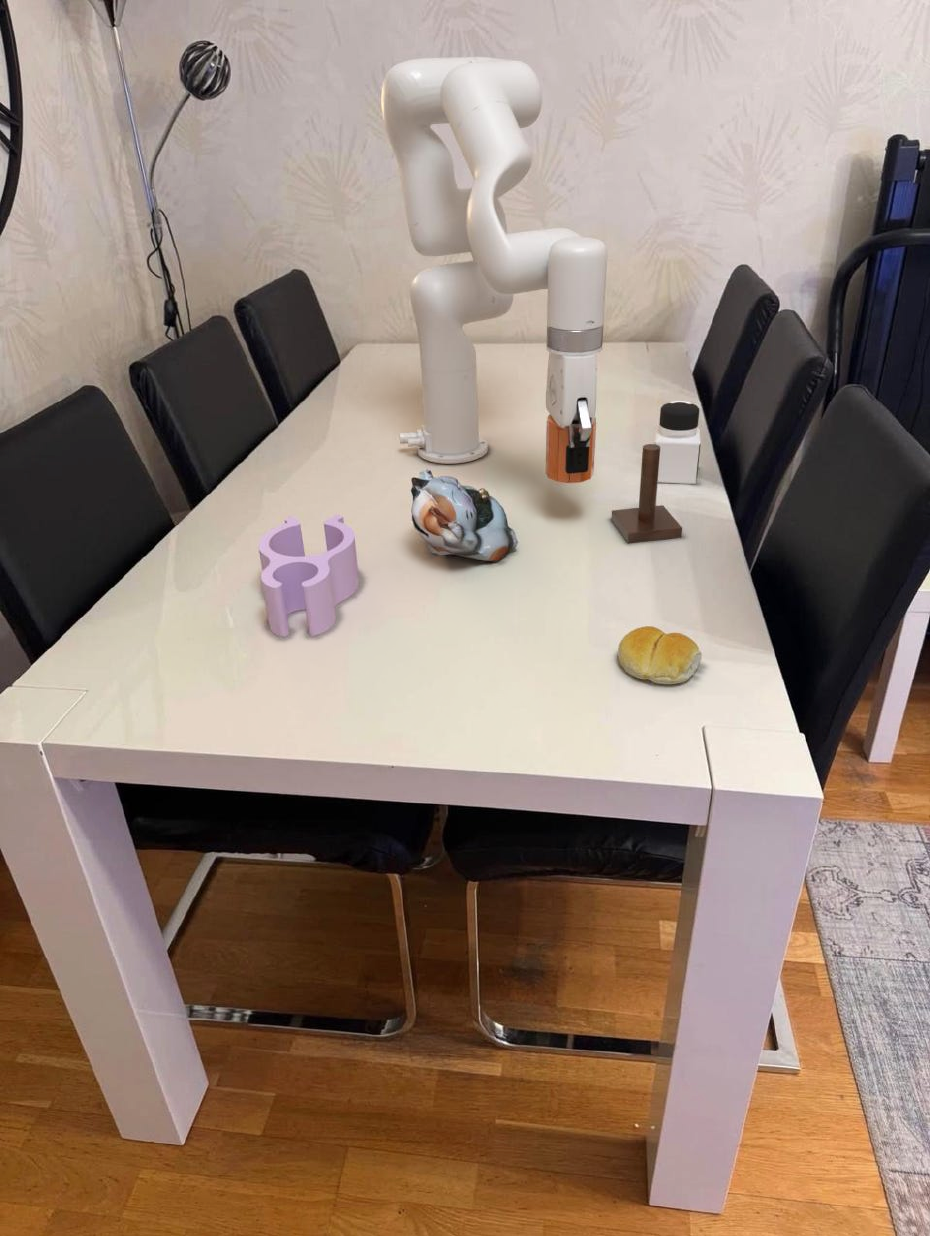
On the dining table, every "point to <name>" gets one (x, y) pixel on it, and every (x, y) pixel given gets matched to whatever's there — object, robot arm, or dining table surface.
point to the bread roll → (659, 655)
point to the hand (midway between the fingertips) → (569, 460)
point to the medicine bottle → (678, 443)
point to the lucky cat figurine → (460, 519)
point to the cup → (557, 453)
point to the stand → (647, 507)
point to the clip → (307, 574)
